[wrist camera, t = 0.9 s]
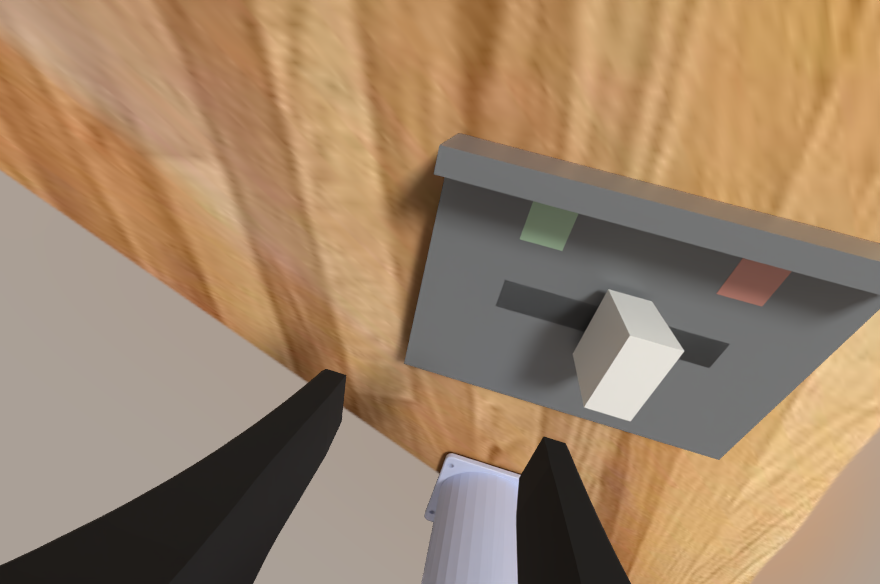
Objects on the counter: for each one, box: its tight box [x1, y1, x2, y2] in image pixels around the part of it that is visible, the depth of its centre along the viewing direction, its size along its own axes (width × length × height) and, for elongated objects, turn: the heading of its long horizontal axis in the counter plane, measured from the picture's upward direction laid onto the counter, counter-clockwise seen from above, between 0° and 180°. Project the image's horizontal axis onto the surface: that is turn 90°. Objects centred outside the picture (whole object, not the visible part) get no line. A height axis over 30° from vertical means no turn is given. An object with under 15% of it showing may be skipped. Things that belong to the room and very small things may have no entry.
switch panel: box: [404, 133, 880, 460], centre depth 17 cm, size 13×19×4 cm
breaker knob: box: [573, 289, 684, 421], centre depth 15 cm, size 4×2×4 cm, turn 168°
